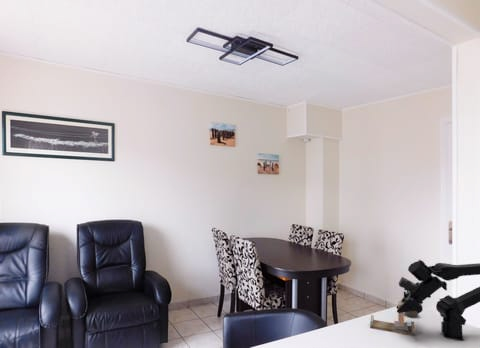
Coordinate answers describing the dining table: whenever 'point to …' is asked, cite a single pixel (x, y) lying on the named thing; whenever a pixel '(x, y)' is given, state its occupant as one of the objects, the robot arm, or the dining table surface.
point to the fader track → (391, 327)
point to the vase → (411, 313)
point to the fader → (400, 320)
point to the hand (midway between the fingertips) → (397, 310)
